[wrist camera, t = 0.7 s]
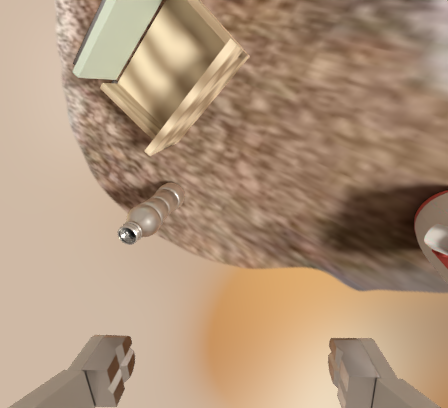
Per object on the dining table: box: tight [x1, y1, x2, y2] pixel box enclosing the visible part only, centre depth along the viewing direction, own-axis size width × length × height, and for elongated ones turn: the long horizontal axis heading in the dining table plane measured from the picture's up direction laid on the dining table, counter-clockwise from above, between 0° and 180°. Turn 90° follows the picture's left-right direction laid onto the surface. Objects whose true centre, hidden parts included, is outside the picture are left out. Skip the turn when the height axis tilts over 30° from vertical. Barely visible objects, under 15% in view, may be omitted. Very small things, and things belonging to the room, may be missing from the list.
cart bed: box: [100, 0, 250, 156], centre depth 43 cm, size 22×17×12 cm
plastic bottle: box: [118, 183, 185, 245], centre depth 51 cm, size 6×7×20 cm
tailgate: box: [73, 0, 162, 80], centre depth 40 cm, size 19×2×10 cm, turn 136°
